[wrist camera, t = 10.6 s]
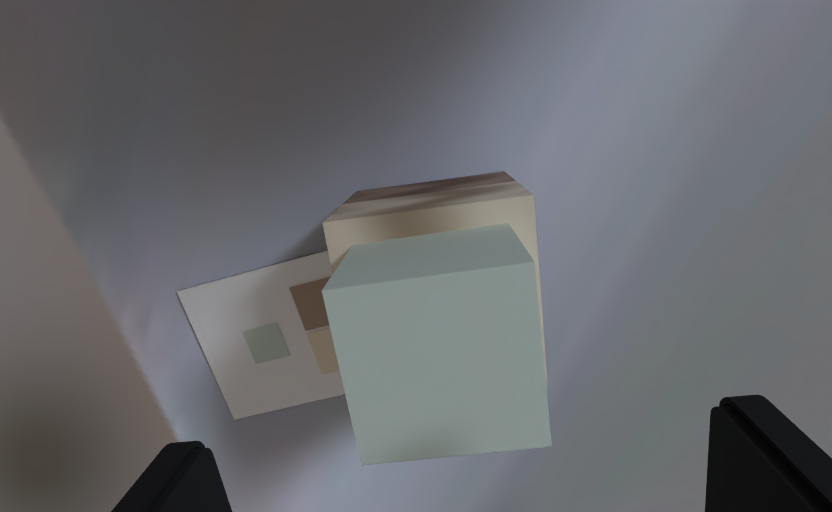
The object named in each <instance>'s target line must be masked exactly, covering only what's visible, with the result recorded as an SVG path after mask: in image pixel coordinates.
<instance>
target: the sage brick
mask: <svg viewBox="0 0 832 512" xmlns="http://www.w3.org/2000/svg"><path fill="white" fill-rule="evenodd" d="M322 294H323V299H324V303H325V308H326V312H327V316H328V321H329V325H330V330H331V334H332V338H333V343H334V347H335V352H336V356H337V360H338V365H339V369H340V374H341V378H342V382H343V387H344V391H345V396H346V400H347V404H348V409H349V413H350V418H351V422H352V426H353V431H354V435H355V440H356V444H357V448H358V453H359V457H360V462H361V466H362V465H372V464H382V463H392V462H402V461H411V460H421V459H431V458H441V457H451V456H461V455H470V454H480V453H490V452H500V451H510V450H520V449H529V448H539V447H549V446H552V443H551V433H550V422H549V411H548V400H547V390H546V379H545V368H544V357H543V347H542V336H541V325H540V315H539V304H538V293H537V282H536V272H535V262H534V260H533V259H532V257H531V256H530V254H529V253H528V251H527V250H526V248H525V247H524V245H523V244H522V242H521V241H520V239H519V238H518V236H517V235H516V233H515V232H514V230H513V229H512V227H511V226H510V225H509V223H503V224H496V225H489V226H482V227H475V228H468V229H461V230H454V231H447V232H440V233H433V234H426V235H419V236H412V237H405V238H398V239H391V240H384V241H377V242H371V243H364V244H357V245H352V246H351V248H350V249H349V251H348V252H347V254H346V255H345V257H344V258H343V260H342V261H341V263H340V264H339V266H338V267H337V269H336V270H335V272H334V273H333V275H332V276H331V278H330V279H329V280H328V282H327V283H326V285H325V286H324V288H323V289H322Z"/></svg>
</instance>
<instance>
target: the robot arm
mask: <svg viewBox="0 0 832 512" xmlns="http://www.w3.org/2000/svg"><path fill="white" fill-rule="evenodd" d="M111 512H232V510H231V507H230V504H229V501H228V498H227V495H226V492H225V489H224V486H223V483H222V480H221V477H220V474H219V470H218V467H217V464H216V461H215V458H214V455H213V453H212V451H211V450H210V449H209V448H205V446H204V444H203V443H201V442H200V441H188V442H176V443H170V444H168V445H166V446H165V447H164V448H163V449H162V450H161V451H160V453H159V454H158V455H157V456H156V457H155V459H154V460H153V461H152V463H151V464H150V465H149V466H148V467H147V469H146V470H145V471H144V472H143V473H142V475H141V476H140V477H139V478H138V480H137V481H136V482H135V483H134V485H133V486H132V487H131V488H130V489H129V491H128V492H127V493H126V494H125V496H124V497H123V498H122V499H121V500H120V502H119V503H118V504H117V505H116V507H115V508H114V509H113V510H112V511H111ZM705 512H832V458H830V457H829V456H828V455H827V454H826V453H825V452H824V451H823V450H822V449H821V448H820V447H819V446H817V445H816V444H815V443H814V442H813V441H812V440H811V439H810V438H809V437H808V436H807V435H805V434H804V433H803V432H802V431H801V430H800V429H799V428H798V427H797V426H796V425H795V424H794V423H792V422H791V421H790V420H789V419H788V418H787V417H786V416H785V415H784V414H783V413H782V412H780V411H779V410H778V409H777V408H776V407H775V406H774V405H773V404H772V403H771V402H770V401H768V400H767V399H766V398H765V397H763V396H761V395H747V396H735V397H725V398H723V399H722V400H721V401H720V404H719V407H714V408H712V410H711V414H710V432H709V450H708V468H707V485H706V503H705Z"/></svg>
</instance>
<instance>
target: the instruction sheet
mask: <svg viewBox="0 0 832 512" xmlns="http://www.w3.org/2000/svg"><path fill="white" fill-rule="evenodd" d="M332 275H333V274H332V269H331V264H330V259H329V254H328V250H326V251H323V252H319V253H315V254H312V255H308V256H304V257H301V258H297V259H293V260H289V261H286V262H282V263H278V264H275V265H271V266H267V267H264V268H260V269H256V270H253V271H249V272H245V273H242V274H238V275H234V276H230V277H227V278H223V279H219V280H216V281H212V282H208V283H205V284H201V285H197V286H194V287H190V288H186V289H183V290H179V291H177V294H178V296H179V298H180V301H181V303H182V305H183V307H184V309H185V312H186V314H187V316H188V318H189V321H190V323H191V325H192V327H193V329H194V332H195V334H196V336H197V338H198V341H199V343H200V345H201V347H202V349H203V352H204V354H205V356H206V358H207V361H208V363H209V365H210V367H211V369H212V372H213V374H214V376H215V378H216V381H217V383H218V385H219V387H220V389H221V392H222V394H223V396H224V398H225V401H226V403H227V405H228V407H229V409H230V412H231V414H232V416H233V418H234V420H236V419H240V418H244V417H249V416H253V415H257V414H262V413H266V412H270V411H275V410H279V409H283V408H288V407H292V406H296V405H301V404H305V403H309V402H314V401H318V400H322V399H327V398H331V397H335V396H340V395H344V394H345V391H344V387H343V382H342V378H341V374H340V369H339V365H338V360H337V356H336V352H335V347H334V343H333V338H332V334H331V330H330V325H329V321H328V316H327V312H326V308H325V303H324V299H323V294H322V289H323V288H324V286H325V285H326V283H327V282H328V280H329V279H330V278H331V276H332Z"/></svg>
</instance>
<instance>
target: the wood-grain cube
mask: <svg viewBox="0 0 832 512" xmlns="http://www.w3.org/2000/svg"><path fill="white" fill-rule="evenodd" d="M503 223H509V225H510V226H511V227H512V229H513V230H514V232H515V233H516V235H517V236H518V238H519V239H520V241H521V242H522V244H523V245H524V247H525V248H526V250H527V251H528V253H529V254H530V256H531V257H532V259H533V260H534V262H535V272H536V282H537V293H538V304H539V315H540V325H541V336H542V347H543V357H544V368H545V379H546V386H547V373H546V359H545V346H544V332H543V318H542V304H541V290H540V276H539V262H538V248H537V235H536V221H535V207H534V195H533V194H532V193H531V192H529V191H528V190H527V189H526V188H524V187H523V186H522V185H521V184H519V183H518V182H517V181H516V180H514V179H513V178H512V177H511V176H509V175H508V174H507V173H506V172H496V173H489V174H481V175H474V176H467V177H459V178H452V179H445V180H437V181H430V182H423V183H415V184H408V185H400V186H393V187H386V188H378V189H371V190H364V191H357V192H356V193H355V194H354V195H352V196H351V197H350V198H349V199H348V200H347V201H346V202H345V203H343V204H342V205H341V206H340V207H339V208H338V209H337V210H336V211H335V212H333V213H332V214H331V215H330V216H329V217H328V218H327V219H326V220H325V221H323V222H322V224H323V229H324V234H325V239H326V244H327V249H328V254H329V259H330V264H331V269H332V274H333V273H334V272H335V270H336V269H337V267H338V266H339V264H340V263H341V261H342V260H343V258H344V257H345V255H346V254H347V252H348V251H349V249H350V248H351V246H352V245H357V244H364V243H371V242H377V241H384V240H391V239H398V238H405V237H412V236H419V235H426V234H433V233H440V232H447V231H454V230H461V229H468V228H475V227H482V226H489V225H496V224H503Z"/></svg>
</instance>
